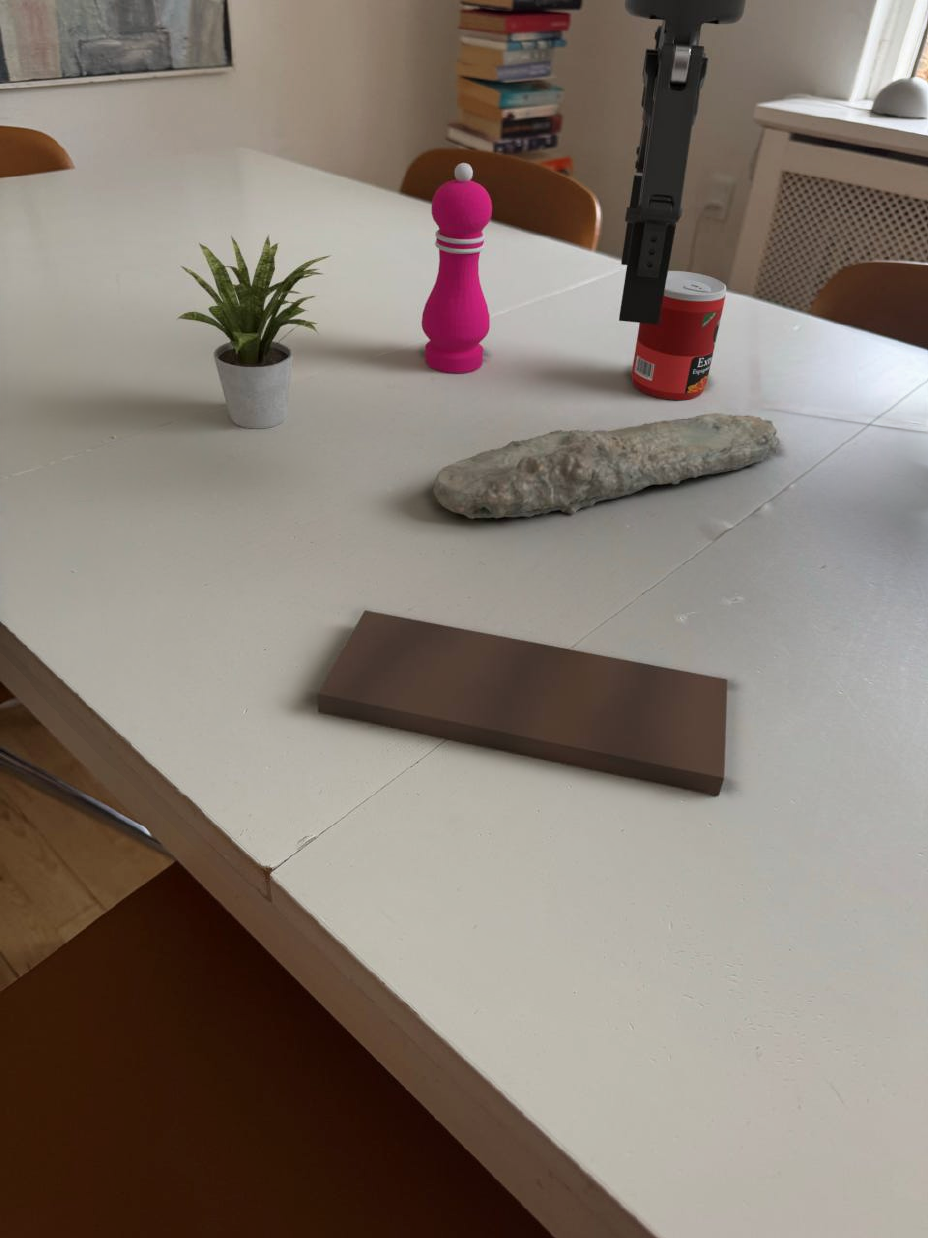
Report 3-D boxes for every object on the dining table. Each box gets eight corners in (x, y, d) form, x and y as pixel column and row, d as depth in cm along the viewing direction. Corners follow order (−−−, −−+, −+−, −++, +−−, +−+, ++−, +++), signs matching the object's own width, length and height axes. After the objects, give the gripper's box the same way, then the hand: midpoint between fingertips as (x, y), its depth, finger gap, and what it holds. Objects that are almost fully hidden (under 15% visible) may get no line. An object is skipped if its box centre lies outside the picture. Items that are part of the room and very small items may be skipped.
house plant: (343, 455, 86) (340, 267, 76) (182, 458, 83) (158, 266, 74) (334, 390, 97) (330, 220, 87) (192, 392, 95) (172, 217, 85)
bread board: (722, 697, 62) (727, 679, 61) (719, 796, 55) (724, 778, 54) (364, 627, 66) (364, 609, 65) (317, 712, 58) (316, 693, 57)
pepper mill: (473, 380, 101) (487, 174, 89) (410, 367, 103) (415, 164, 91) (495, 357, 107) (511, 161, 95) (435, 345, 109) (442, 151, 97)
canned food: (700, 406, 99) (723, 299, 92) (623, 392, 101) (640, 286, 94) (709, 380, 105) (731, 277, 98) (636, 367, 107) (653, 265, 100)
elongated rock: (798, 482, 89) (726, 442, 97) (814, 427, 87) (738, 391, 94) (468, 542, 74) (411, 489, 81) (474, 478, 71) (414, 430, 78)
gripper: (633, -63, 70) (593, 241, 82) (632, -57, 50) (580, 343, 62) (738, -56, 69) (682, 250, 82) (780, -47, 49) (697, 356, 62)
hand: (638, 291), depth 72 cm, fingers open, 13 cm apart
